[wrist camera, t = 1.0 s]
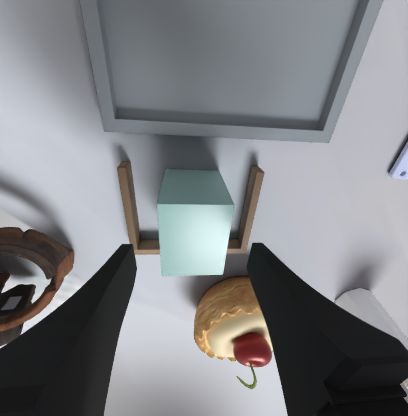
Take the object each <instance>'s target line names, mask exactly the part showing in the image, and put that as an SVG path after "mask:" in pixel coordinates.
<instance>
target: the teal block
mask: <svg viewBox="0 0 408 416" xmlns="http://www.w3.org/2000/svg"><path fill="white" fill-rule="evenodd" d="M233 210H234V203H233V201H232V199H231V196H230V194H229V192H228V190H227V187H226V185H225V183H224V181H223V178H222V176H221V174H220V172H219V171H217V170H186V169H165V173H164V177H163V181H162V185H161V189H160V193H159V197H158V201H157V214H158V229H159V244H160V258H161V273H162V276H189V275H223V271H224V265H225V259H226V253H227V247H228V241H229V234H230V228H231V222H232V216H233Z"/></svg>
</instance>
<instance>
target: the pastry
mask: <svg viewBox="0 0 408 416" xmlns="http://www.w3.org/2000/svg"><path fill="white" fill-rule="evenodd" d="M194 339H195V342H196V343H197V345H198V347H199V348H200V350H201V351H202V352H206V353H207V355H208V356H209V357H211V358H212V357H213V356H216V357H217V358H218V359H220V360H223V359H224V358H225V357H227V358H228V359H229V360H230V361H236V360H237V361H238V362H239V363H241V364H243V365H245V366H249V367H251V369H252V372H253V375H254V382H253V384H252V385H248V384H246V383H245V382H243V381H242V380H241V379H240V378H239V377H238V376H237V378H238V379H239V380H240V382H241V383H243V384H244V385H245V386H246V387H248V388H250V389H253V388H255V386H256V383H257V380H256V376H255V373H254V370H253V367H262V366H265V365H267V364H268V363H269V362H270V360H271V358H272V352H273V348H272V344H271V340H270V336H269V333H268V329H267V325H266V322H265V319H264V317H263V314H262V311H261V309H260V306H259V303H258V301H257V298H256V295H255V293H254V290H253V287H252V285H251V282H250V278H249V276H240V277H232V278H229V279H226V280H223V281H220V282H219V283H217V284H215V285H214V286H212V287H211V288H210V289H209V290H208V291H207V292H206V293H205V294H204V296H203V297H202V299H201V301H200V303H199V305H198V308H197V311H196V314H195V320H194Z"/></svg>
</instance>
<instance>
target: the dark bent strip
mask: <svg viewBox="0 0 408 416" xmlns="http://www.w3.org/2000/svg"><path fill="white" fill-rule="evenodd" d="M117 171H118V177H119V183H120V188H121V194H122V200H123V206H124V212H125V218H126V224H127V230H128V236H129V241H130V244H133V247H134V254H135V255H146V254H160V244H159V239H155V240H141V238H140V231H139V223H138V216H137V208H136V200H135V193H134V185H133V177H132V170H131V162H122V163H121V164H120V165H119V166H118V167H117ZM263 177H264V172H263V171H262V170H261V169H260V168H259V167H258V166H251V171H250V176H249V182H248V187H247V192H246V197H245V202H244V207H243V213H242V218H241V223H240V228H239V233H238V238H237V239H229V241H228V247H227V253H246V249H247V245H248V241H249V237H250V232H251V228H252V224H253V219H254V215H255V211H256V207H257V202H258V198H259V194H260V189H261V185H262V181H263Z"/></svg>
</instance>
